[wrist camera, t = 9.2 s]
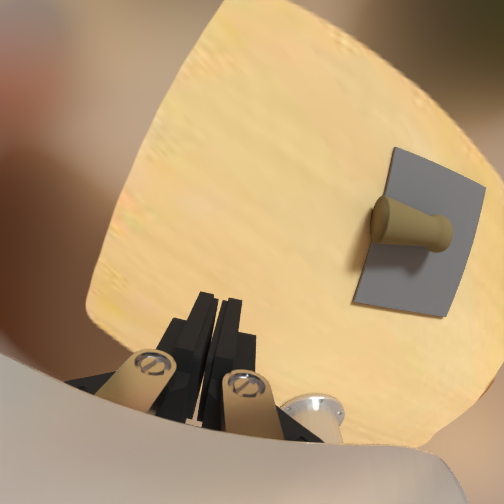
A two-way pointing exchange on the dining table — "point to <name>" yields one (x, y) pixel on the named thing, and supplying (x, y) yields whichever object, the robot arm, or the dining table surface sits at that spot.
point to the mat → (418, 257)
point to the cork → (409, 226)
